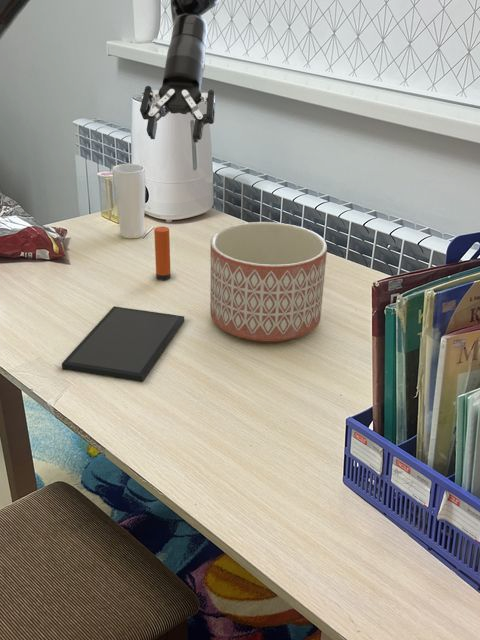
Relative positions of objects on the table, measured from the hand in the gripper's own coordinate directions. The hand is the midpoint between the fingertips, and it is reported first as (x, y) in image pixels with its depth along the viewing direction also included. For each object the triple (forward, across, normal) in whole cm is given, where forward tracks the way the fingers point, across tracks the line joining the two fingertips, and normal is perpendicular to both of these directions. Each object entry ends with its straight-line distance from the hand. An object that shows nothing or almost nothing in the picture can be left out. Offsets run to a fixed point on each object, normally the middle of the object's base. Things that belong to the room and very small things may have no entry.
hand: (173, 138), depth 133 cm
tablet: (+44, 0, -10) cm, 45 cm away
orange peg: (+25, 0, +9) cm, 27 cm away
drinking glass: (+11, -12, +23) cm, 28 cm away
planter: (+36, +22, -1) cm, 42 cm away
